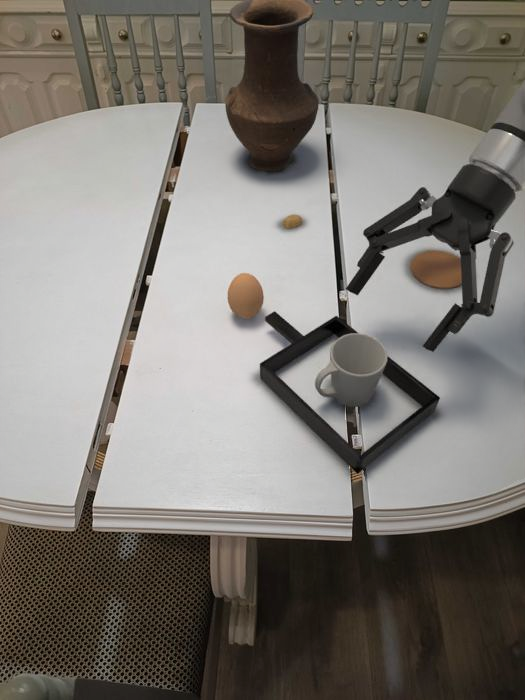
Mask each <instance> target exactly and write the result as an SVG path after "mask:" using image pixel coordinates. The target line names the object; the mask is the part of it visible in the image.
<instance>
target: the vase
mask: <svg viewBox="0 0 525 700" xmlns="http://www.w3.org/2000/svg"><path fill="white" fill-rule="evenodd" d="M229 16H230V19H231V20H232V22H233V23H235V24H236V25H239V26H241V27H243V37H244V38H243V43H244V45H243V46H244V65H243V73H242V78H241V79H240V81H239V83H238V84H237V85H235V86H230V88H229V89H228V92H227V94H226V97H225V114H226V117H227V120H228V124H229V126H230V128H231V130H232V132H233V134H234V135H235V137H236V139H237V140H238V141H239V143H241V145H242V146H243V147H244V148H245V149H246V150H247V151H248V152H249V154H250V155H249V158H248V164H249V165H250V166H251V167H252V168H254V169H255V170H259V171H265V172H275V171H276V172H277V171H281V170H284V169H285V168H286V167H287V166H288V165H289V164H290V163H291V162H292V161H293V155H292V153H293V152H294V150H295V149H296V148H297V147H298V146H299V144H300V143H301V142H302V141H303V139H304V138H305V137H306V136H307V135H308V134H309V132H310V131H311V130H312V128H313V126H314V124H315V122H316V119H317V115H318V111H319V105H320V104H319V102H320V101H319V97H318V94H316V93H315V91H314V90H313V89H312V88H311V86H310V84H309V83H307V82H305V83H304V82H302V81H301V78H300V77H299V67H298V65H299V64H298V62H299V61H298V52H299V29H300V27H301V26H303V25H304V24H307V23H308V22H309V21H310V20H311V19H312V18H313V16H314V9H313V6H312V4H310V3H309V2H306V1H305V0H243V1H241V2H238V3H236V5H233V6H232V7H231V9H230V11H229Z"/></svg>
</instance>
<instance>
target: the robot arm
mask: <svg viewBox="0 0 525 700" xmlns="http://www.w3.org/2000/svg"><path fill="white" fill-rule="evenodd" d="M524 188H525V79H524V80H523V81H522V82H521V85H519V87H518V89H517V90H516V92H515V93H514V94H513V96H512V98H511V99H510V100H509V101H508V103H507V104H506V106H505V107H504V108H503V110H502V111H501V113H500V114H499V116H498V117H497V118H496V120H495V121H494V123H493V124H492V126H491V127H490V128H489V130H488V131H487V132H486V134H484V136H483V137H482V140H481V141H480V142H479V143H478V144H477V146H476V147H475V148H474V150H473V151H472V153H471V154H470V155H469V157H468V163H467V164H465V165H463V166H462V167H461V168H460V169H459V171H458V172H457V174H456V175H455V176H454V178H453V179H452V181H451V182H450V183H449V184H448V186H447V189H445V192H444V194H442V195H441V196H440V197H438V198H437V197H436V196H434V195H433V194H431V193H430V191H429V190H428V189H427V188H426V187H425V186H421V187H419V188H418V190H417V191H416V192H415V193H414V194H413V195H412V196H411V198H410V199H409V200H406V202H404V203H403V204H401V205H400V206H398V207H396V208H395V209H394V210H392V211H391V212H389V213H387V214H386V215H384V216H383V217H382V218H380V219H378V220H376V221H375V222H374V223H372V224H371V225H369V226H368V227H366V228H365V229H364V230H363V232H362V234H363V237H365V239H366V240H367V242H368V246H367V248H366V250H365V251H364V252H363V254H362V256H361V257H360V259H359V260H358V261H357V264H356V267H358V268H359V269H358V270H357V271H356V273H355V275H354V276H353V277H352V279H351V281H350V282H349V283H348V285H347V286H346V287H345V290H347V291H348V292H349V293H351V294H354V295H355V296H359V295H360V293H361V292H362V290H363V289H364V288H365V286H366V285H367V283H368V282H369V280H371V278H372V276H373V275H374V273H375V272H376V271H377V269H378V268H379V266H380V265H381V263H382V262H384V259H386V256H385V255H384V252H385V251H388V250H391V249H393V248H396V247H399V246H402V245H405V244H407V243H411V242H414V241H416V240H419V239H422V238H425V237H426V238H428V237H432V236H433V237H434V238H435V239H436V240H437V241H439V242H440V243H444V244H446V245H448V246H449V247H450V248H451V249H452V250H454V251H455V252H457V251H458V252H459V255H460V259H461V277H462V285H461V297H462V298H461V299H462V303H461V304H460V305H459V304H458V303H456V302H455V303H454V304H453V305H452V306H451V308H450V309H449V310H448V312H447V313H446V314H445V316H443V318H442V319H441V321H440V322H439V324H438V325H437V326H436V327H435V328H434V330H433V331H432V333H430V335H429V336H428V338H427V339H426V340H425V342H424V343H423V344H422V348H424V349H425V350H427V351H429V352H431V353H434V352H435V351H436V349H437V348H438V347H439V346H440V345H441V344H442V342H443V341H444V339H445V338H447V335H448V334H449V333H451V334H453V335H457V334H458V333H459V332H460V331H461V330H462V328H463V327H464V326H465V325H466V324H467V322H468V321H469V320H470V319H471V317H472V316H474V315H480V316H483V317H486V318H491V317H492V316H493V315H494V312H495V307H496V303H497V299H498V293H499V289H500V285H501V278H502V274H503V271H504V265H505V261H506V257H507V255H508V254H509V252H510V251H511V249H512V247H513V246H514V240H513V238H512V236H511V235H510V234H509V233H508V232H506V231H504V232H500V231H497V230H495V226H496V224H497V223H498V222H499V221H500V220H501V219H502V217H503V216H504V215H505V213H506V212H507V211H508V209H509V208H510V207H511V206H512V205H513V203H514V202H515V200H516V198H517V197H516V192H522V191H523V190H524ZM429 208H431V215H429V216H426V217H424V218H423V217H422V218H421V219H419V220H417V222H415V223H412V224H409V225H406V226H404V227H400V226H402V225H404V224H405V223H406V222H408V221H410V220H411V219H413V218H414V217H416V216H417V215H419V214H420V213H421V212H423V211H426V210H429ZM399 227H400V228H399ZM397 228H398V229H397ZM395 229H396V230H395ZM488 240H489V248H490V249H491V250H490V253H489V256H488V262H487V265H486V271H485V276H484V281H483V284H482V290H481V294H480V298H479V302H478V280H477V262H476V261H477V245H479V244H481V243H483V242H486V241H488Z"/></svg>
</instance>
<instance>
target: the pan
mask: <svg viewBox="0 0 525 700" xmlns="http://www.w3.org/2000/svg"><path fill="white" fill-rule="evenodd" d="M264 318H265V319H264V321H265V323H267V324H268V325H269V326H271V327H272V328H273V329H274V330H275V331H276V332H277V333H278V334H279V335H280V336H281V337H283V338H284V339H285V340H286V341H287V342H288V343H289V345H287V346H285V347H283V348H282V349H281V350H279V351H277V352H276V353H274V354H272V355H271V356H269V357H268V358H266V359H265V360H263V361H262V362H260V363H259V379H260V380H261V381H262V382H263V383H264V384H265V385H266V386H267V387H268V388H269V389H270V390H271V391H272V392H273V393H275V394H276V395H277V396H278V398H279V399H281V401H282V402H284V403H285V404H286V405H287V406H288V407H289V408H290V409H291V410H292V411H293V412H294V413H295V414H296V415H297V416H298V417H299V418H300V419H301V420H302V421H303V422H304V423H305V424H306V425H307V426H308V427H309V428H310V429H311V430H312V431H313V432H314V433H315V434H316V435H317V436H318V437H319V438H320V439H321V440H322V441H323V442H324V443H325V444H326V445H328V447H329V448H330V449H331V450H332V451H333V452H335V453H336V454H337V456H339V457H340V459H342V461H344V463H346V464H347V466H349V467H350V468H351V469H352V470H353V471H354V473H356V474H359V473H362V471H363V470H364V469H366V468H367V467H368V466H370V465H371V464H372V463H373V462H374V461H376V460H377V459H378V458H380V457H381V456H382V455H383V454H385V453H386V452H387V451H388V450H390V448H392V447H393V446H395V445H396V444H397V443H398V442H400V440H401V439H403V438H404V437H406V436H407V435H408V434H409V433H410V432H412V431H413V430H414V429H415V428H417V427H418V426H419V425H420V424H422V423H423V422H424V421H425V420H427V419H428V418H429V417H430V416H432V415H433V414H434V413H435V411H436V409H437V406H438V404H439V402H440V399H441V397H440V396H439V395H438V394H436V393H435V392H434V391H433V390H431V389H430V388H429V387H428V386H426V385H425V384H424V383H423V382H421V381H420V380H419V379H417V378H416V377H415V376H414V375H413V374H412V373H410V372H408V370H406V369H405V368H403V367H402V366H401V365H400V364H399V363H398V362H396V361H395V360H393V359H392V358H391V357H390V356H388V358H387V363H386V366H385V368H384V371H383V373H382V375H383V376H384V377H386V378H387V379H388V380H389V381H390V382H392V383H393V384H394V385H395V386H397V387H398V388H399V389H400V390H402V391H403V392H404V393H405V394H406V395H408V396H409V397H410V398H411V399H412V400H414V401H415V402H416V403H418V404H419V405H420V406H421V407H420V408H418V409H416V410H415V412H413V413H412V414H411V415H409V416H408V417H407V418H406V419H404V420H403V421H402V422H401V423H399V424H398V425H397V426H396V427H394V428H392V430H390V431H388V433H387V434H385V435H384V436H383V437H382V438H380V439H379V440H377V442H375V443H374V444H373V445H371V446H370V447H369V448H368V449H366V450H365V451H364V452H363V453H359V452H358V451H357V450H356V449H355V448H354V447H353V446H352V445H351V444H350V443H349V442H348V441H347V440H346V439H345V438H344V437H342V435H341V434H339V433H338V432H337V431H336V430H335V429H334V428H333V427H332V426H331V425H330V424H329V423H328V422H327V421H326V420H325V419H324V418H323V417H321V415H320V414H318V412H317V411H315V410H314V409H313V408H312V407H311V406H310V405H309V404H308V403H307V402H306V401H305V400H304V399H303V398H301V397H300V395H299V394H298V393H297V392H295V390H294V389H292V388H291V387H290V386H289V384H287V383H286V382H285V381H284V380H283V379H282V378H281V377H280V376H278V374H277V372H279V371H281V369H283V368H285V367H286V366H288V365H289V364H291V363H292V362H294V361H295V360H297V359H299V358H300V357H302V356H303V355H305V354H306V353H307V352H310V351H311V350H312V349H314V348H316V347H317V346H319V345H320V344H322V343H324V342H325V341H326V340H328V339H329V338H332V337H333V336H336V337H337V339H338V338H340V337H342V336H344V335H347V334H351V333H359V331H357V330H356V329H354V328H353V327H352V326H350V325H349V324H348V323H347V322H345V321H344V320H343V319H342V318H341V317H339V316H338V315H335V316H333V317H332V318H330V319H328V320H327V321H325V322H324V323H322V324H320V325H319V326H317V327H316V328H314V329H313V330H311V331H309V332H308V333H306V334H304V335H303V334H302V333H301V332H300V331H299V330H297V329H296V328H295V327H294V326H293V325H292V324H290V322H288V321H287V320H286V319H284V318H283V316H281V315H280V314H279V313H278V312H277V311H272V312H271V313H269V314H267V315H265V317H264Z"/></svg>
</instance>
